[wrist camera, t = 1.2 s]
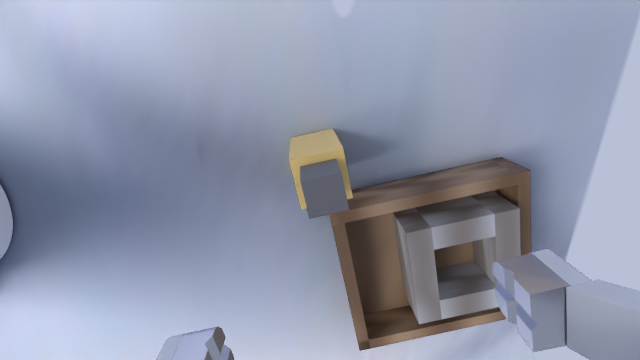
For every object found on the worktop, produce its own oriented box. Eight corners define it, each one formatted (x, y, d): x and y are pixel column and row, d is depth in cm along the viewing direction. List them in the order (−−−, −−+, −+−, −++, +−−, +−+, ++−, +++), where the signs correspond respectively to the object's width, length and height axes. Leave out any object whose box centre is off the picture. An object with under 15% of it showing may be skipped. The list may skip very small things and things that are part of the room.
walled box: (353, 319, 35) (361, 359, 30) (325, 196, 31) (330, 220, 26) (506, 286, 35) (538, 321, 30) (501, 157, 30) (538, 174, 26)
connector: (300, 177, 30) (301, 229, 20) (290, 137, 29) (287, 173, 19) (340, 168, 30) (360, 216, 20) (332, 128, 29) (350, 159, 19)
